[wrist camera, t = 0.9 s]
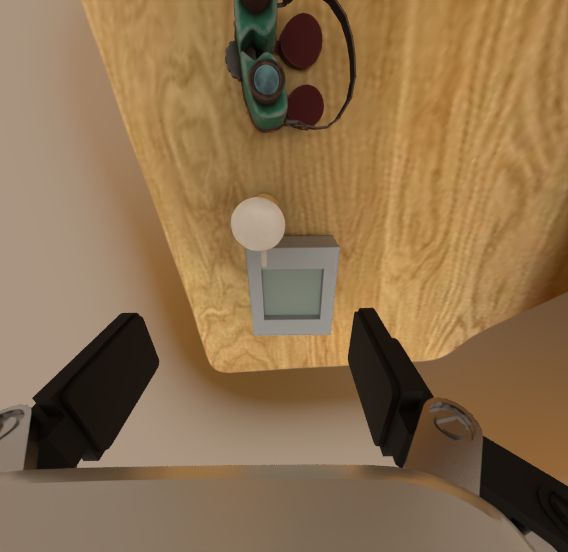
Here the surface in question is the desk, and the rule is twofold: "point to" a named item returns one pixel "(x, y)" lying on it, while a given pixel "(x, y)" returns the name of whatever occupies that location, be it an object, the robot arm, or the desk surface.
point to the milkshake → (258, 224)
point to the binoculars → (269, 74)
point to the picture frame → (294, 286)
